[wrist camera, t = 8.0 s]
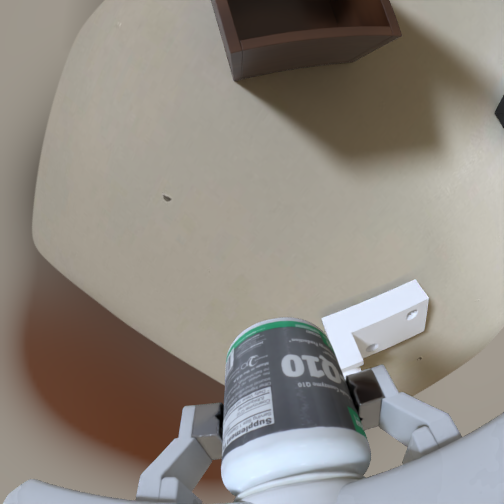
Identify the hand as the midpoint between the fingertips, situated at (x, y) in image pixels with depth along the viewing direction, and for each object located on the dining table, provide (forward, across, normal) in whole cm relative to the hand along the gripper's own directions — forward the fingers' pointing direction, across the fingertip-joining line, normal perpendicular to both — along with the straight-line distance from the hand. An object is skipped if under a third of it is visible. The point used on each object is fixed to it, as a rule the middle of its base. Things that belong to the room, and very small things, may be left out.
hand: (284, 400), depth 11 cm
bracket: (+23, -12, +16) cm, 31 cm away
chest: (+23, -8, -23) cm, 33 cm away
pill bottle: (+3, 0, 0) cm, 3 cm away
